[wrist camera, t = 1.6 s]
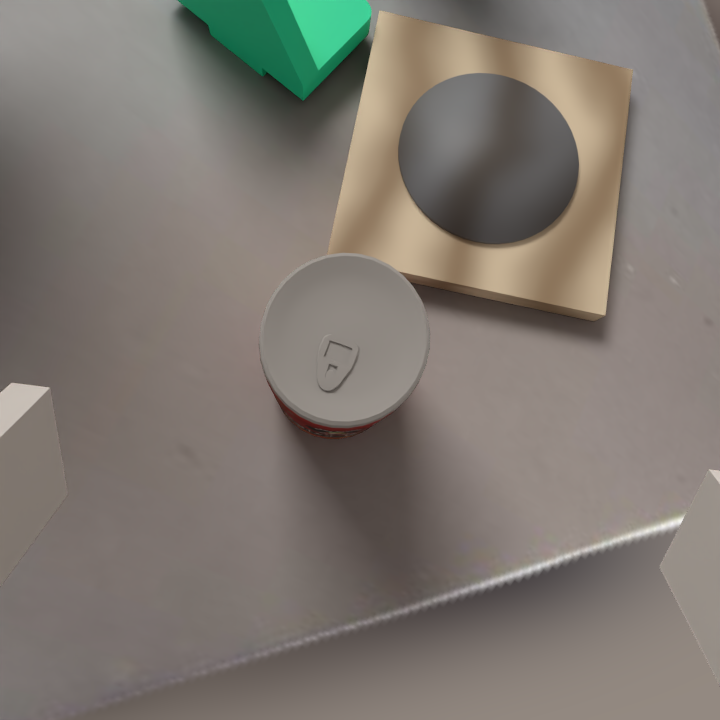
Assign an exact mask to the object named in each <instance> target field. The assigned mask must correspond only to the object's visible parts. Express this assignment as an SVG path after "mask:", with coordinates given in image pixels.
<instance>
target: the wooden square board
mask: <svg viewBox="0 0 720 720" xmlns="http://www.w3.org/2000/svg"><path fill="white" fill-rule="evenodd" d="M632 73H633V70H631V69H627V68H623V67H618V66H614V65H610V64H606V63H601V62H597V61H593V60H589V59H584V58H580V57H576V56H572V55H567V54H563V53H559V52H555V51H550V50H546V49H542V48H538V47H533V46H529V45H525V44H520V43H516V42H512V41H508V40H503V39H499V38H495V37H491V36H486V35H482V34H478V33H474V32H469V31H465V30H461V29H457V28H452V27H448V26H444V25H440V24H435V23H431V22H427V21H422V20H418V19H414V18H410V17H405V16H401V15H397V14H393V13H388V12H384V11H379V16H378V20H377V25H376V30H375V34H374V39H373V44H372V48H371V53H370V58H369V62H368V67H367V72H366V76H365V81H364V85H363V90H362V95H361V99H360V104H359V109H358V113H357V118H356V123H355V127H354V132H353V137H352V141H351V146H350V151H349V155H348V160H347V164H346V169H345V174H344V178H343V183H342V188H341V192H340V197H339V202H338V206H337V211H336V216H335V220H334V225H333V230H332V234H331V239H330V243H329V248H328V253H327V255H330V254H337V253H357V254H362V255H366V256H370V257H374V258H376V259H378V260H381V261H383V262H385V263H387V264H389V265H390V266H392V267H393V268H394V269H396V270H397V271H398V272H400V273H401V274H402V275H403V276H404V277H405V278H406V279H407V280H408V281H409V282H411V283H416V284H421V285H425V286H430V287H435V288H439V289H444V290H449V291H454V292H458V293H463V294H468V295H472V296H477V297H482V298H486V299H491V300H496V301H500V302H505V303H510V304H515V305H519V306H524V307H529V308H533V309H538V310H543V311H547V312H552V313H557V314H562V315H566V316H571V317H576V318H580V319H585V320H590V321H596V320H598V319H600V318H602V317H604V316H605V314H606V305H607V296H608V287H609V278H610V269H611V260H612V252H613V243H614V234H615V225H616V216H617V207H618V198H619V189H620V180H621V171H622V163H623V154H624V145H625V136H626V127H627V118H628V109H629V100H630V91H631V82H632Z"/></svg>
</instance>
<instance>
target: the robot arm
mask: <svg viewBox="0 0 720 720" xmlns="http://www.w3.org/2000/svg"><path fill="white" fill-rule="evenodd" d="M67 495H68V491H67V485H66V479H65V473H64V467H63V461H62V454H61V448H60V442H59V436H58V430H57V424H56V418H55V412H54V406H53V400H52V394H51V388H50V387H42V386H33V385H25V384H17V383H11V384H10V385H9V386H7V387H6V388H5V389H4V390H3V391H2V392H1V393H0V587H1V586H2V584H3V583H4V582H5V580H6V579H7V578H8V576H9V575H10V573H11V572H12V571H13V569H14V568H15V567H16V565H17V564H18V562H19V561H20V560H21V558H22V557H23V556H24V554H25V553H26V551H27V550H28V549H29V547H30V546H31V545H32V543H33V542H34V540H35V539H36V538H37V536H38V535H39V534H40V532H41V531H42V529H43V528H44V527H45V525H46V524H47V523H48V521H49V520H50V518H51V517H52V516H53V514H54V513H55V512H56V510H57V509H58V507H59V506H60V505H61V503H62V502H63V501H64V499H65V498H66V496H67ZM659 567H660V569H661V571H662V573H663V575H664V577H665V579H666V581H667V583H668V585H669V587H670V589H671V591H672V593H673V595H674V597H675V599H676V601H677V603H678V605H679V607H680V609H681V611H682V613H683V615H684V617H685V619H686V621H687V623H688V625H689V627H690V629H691V631H692V633H693V635H694V636H695V639H696V640H697V642H698V644H699V646H700V648H701V650H702V652H703V654H704V656H705V658H706V660H707V662H708V664H709V666H710V668H711V670H712V672H713V674H714V676H715V677H716V680H717V682H718V684H719V686H720V471H718V470H710V469H709V470H708V472H707V474H706V476H705V478H704V480H703V482H702V484H701V486H700V488H699V490H698V492H697V494H696V496H695V498H694V500H693V501H692V503H691V505H690V507H689V509H688V511H687V513H686V515H685V517H684V519H683V521H682V523H681V525H680V527H679V529H678V531H677V533H676V535H675V537H674V539H673V541H672V543H671V545H670V547H669V549H668V551H667V552H666V554H665V556H664V558H663V560H662V563H661V564H660V566H659Z"/></svg>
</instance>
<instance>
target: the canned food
mask: <svg viewBox="0 0 720 720" xmlns="http://www.w3.org/2000/svg"><path fill="white" fill-rule="evenodd" d="M429 349H430V329H429V323H428V317H427V313H426V311H425V308H424V305H423V303H422V300H421V298H420V297H419V295H418V293H417V292H416V290H415V289H414V287H413V286H412V284H411V283H410V282H409V281H408V280H407V279H406V278H405V277H404V276H403V275H402V274H401V273H400V272H398V271H397V270H396V269H394V268H393V267H392V266H390V265H389V264H387V263H385V262H383V261H381V260H378V259H376V258H374V257H370V256H366V255H362V254H357V253H337V254H330V255H325V256H322V257H319V258H316V259H313V260H310V261H309V262H307V263H305V264H303V265H302V266H300V267H298V268H297V269H295V270H294V271H293V272H292V273H291V274H290V275H288V276H287V277H286V278H285V279H284V280H283V281H282V282H281V284H280V285H279V286H278V287H277V289H276V290H275V291H274V293H273V294H272V296H271V298H270V300H269V302H268V304H267V306H266V308H265V311H264V315H263V318H262V322H261V326H260V336H259V351H260V360H261V364H262V367H263V370H264V373H265V377H266V380H267V382H268V384H269V386H270V388H271V390H272V392H273V394H274V396H275V398H276V400H277V402H278V403H279V405H280V407H281V409H282V411H283V412H284V414H285V415H286V416H287V417H288V418H289V419H290V421H291V422H292V423H293V424H295V425H296V426H297V427H299V428H300V429H301V430H303V431H305V432H307V433H309V434H311V435H313V436H318V437H322V438H327V439H340V438H346V437H351V436H353V435H356V434H358V433H361V432H363V431H365V430H366V429H368V428H369V427H371V426H372V425H374V424H376V423H377V422H379V421H380V420H382V419H383V418H385V417H386V416H388V415H390V414H391V413H393V412H394V411H395V410H396V409H397V408H398V407H399V406H400V405H401V404H402V403H403V402H404V401H405V400H406V399H407V398H408V397H409V396H410V394H411V393H412V392H413V390H414V389H415V387H416V386H417V384H418V382H419V380H420V378H421V376H422V373H423V371H424V369H425V366H426V363H427V358H428V354H429Z"/></svg>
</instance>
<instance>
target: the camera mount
mask: <svg viewBox="0 0 720 720" xmlns="http://www.w3.org/2000/svg"><path fill="white" fill-rule="evenodd" d="M178 1H179V2H180V3H181V4H183V5H184V6H185V7H186V8H188V9H189V10H190V11H191V12H193V13H194V14H195V15H196V16H198V17H199V18H200V19H201V20H203V21H204V22H205V23H206V24H208V26H209V30H210V35H211V36H213V37H214V38H215V39H216V40H218V41H219V42H220V43H221V44H223V45H224V46H225V47H226V48H228V49H229V50H230V51H231V52H233V53H234V54H235V55H236V56H238V57H239V58H240V59H241V60H243V61H244V62H245V63H246V64H248V65H249V66H250V67H251V68H253V69H254V70H255V71H256V72H258V73H259V74H260V75H261V76H264V75H265V74H266V73H267V72H268V73H269V74H270V75H271V76H273V77H274V78H275V79H276V80H278V81H279V82H280V83H281V84H283V85H284V86H285V87H286V88H288V89H289V90H290V91H291V92H293V93H294V94H295V95H296V96H298V97H299V98H300V99H301V100H303V101H304V100H305V99H306V98H307V97H308V96H309V95H310V94H311V93H312V91H313V90H314V89H315V88H316V87H317V86H318V85H319V84H320V83H321V82H322V81H323V80H324V79H325V78H326V77H327V76H328V75H329V74H330V73H331V72H332V71H333V70H334V69H335V68H336V67H337V66H338V65H339V64H340V63H341V62H342V61H343V60H344V59H345V58H346V57H347V56H348V55H349V54H350V53H351V52H352V51H353V50H354V49H355V48H356V47H357V46H358V45H359V44H360V43H361V41H362V40H363V39H364V38H365V37H366V36H367V35H368V33H369V27H370V19H371V7H370V5H369V3H368V2H367V1H366V0H178Z"/></svg>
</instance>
